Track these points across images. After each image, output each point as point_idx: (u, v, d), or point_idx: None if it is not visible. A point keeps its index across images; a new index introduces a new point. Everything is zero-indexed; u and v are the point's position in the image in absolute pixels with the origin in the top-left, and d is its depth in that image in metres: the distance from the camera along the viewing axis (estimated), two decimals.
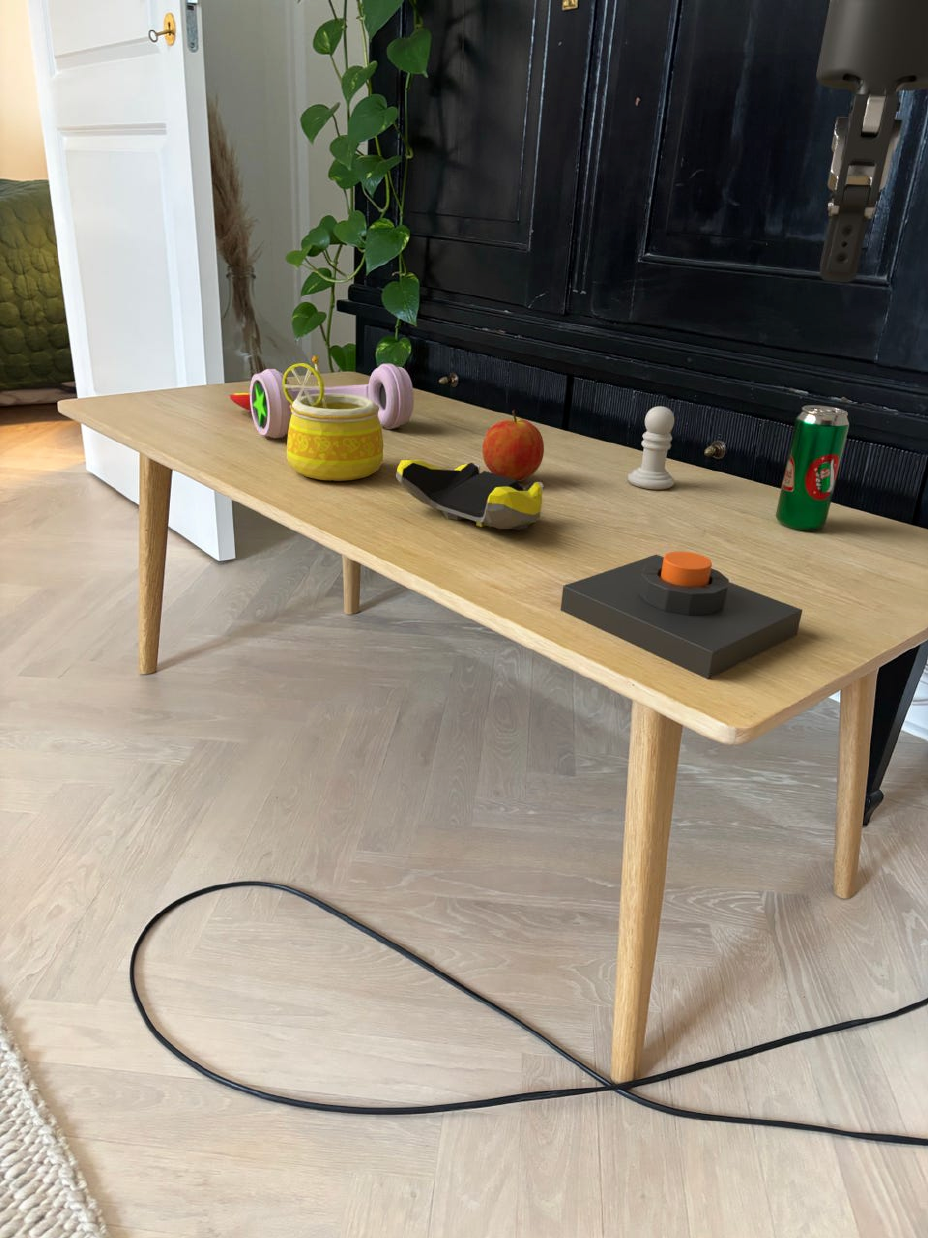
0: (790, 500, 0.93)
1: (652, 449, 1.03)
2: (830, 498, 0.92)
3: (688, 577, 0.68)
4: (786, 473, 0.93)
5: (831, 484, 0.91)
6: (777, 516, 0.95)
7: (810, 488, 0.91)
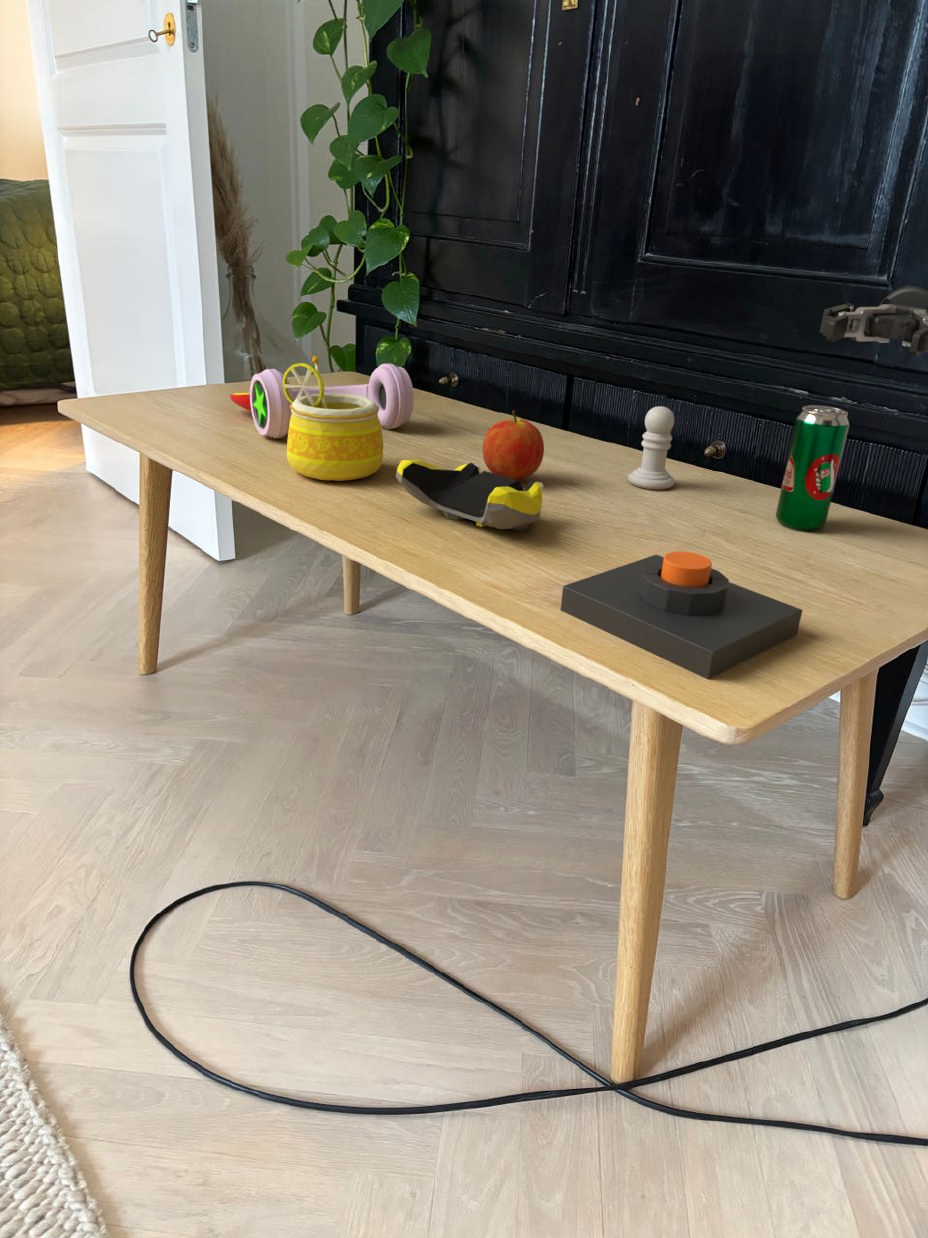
0: (791, 500, 0.93)
1: (652, 449, 1.03)
2: (830, 498, 0.92)
3: (688, 577, 0.68)
4: (786, 473, 0.93)
5: (831, 484, 0.91)
6: (777, 516, 0.95)
7: (810, 488, 0.91)
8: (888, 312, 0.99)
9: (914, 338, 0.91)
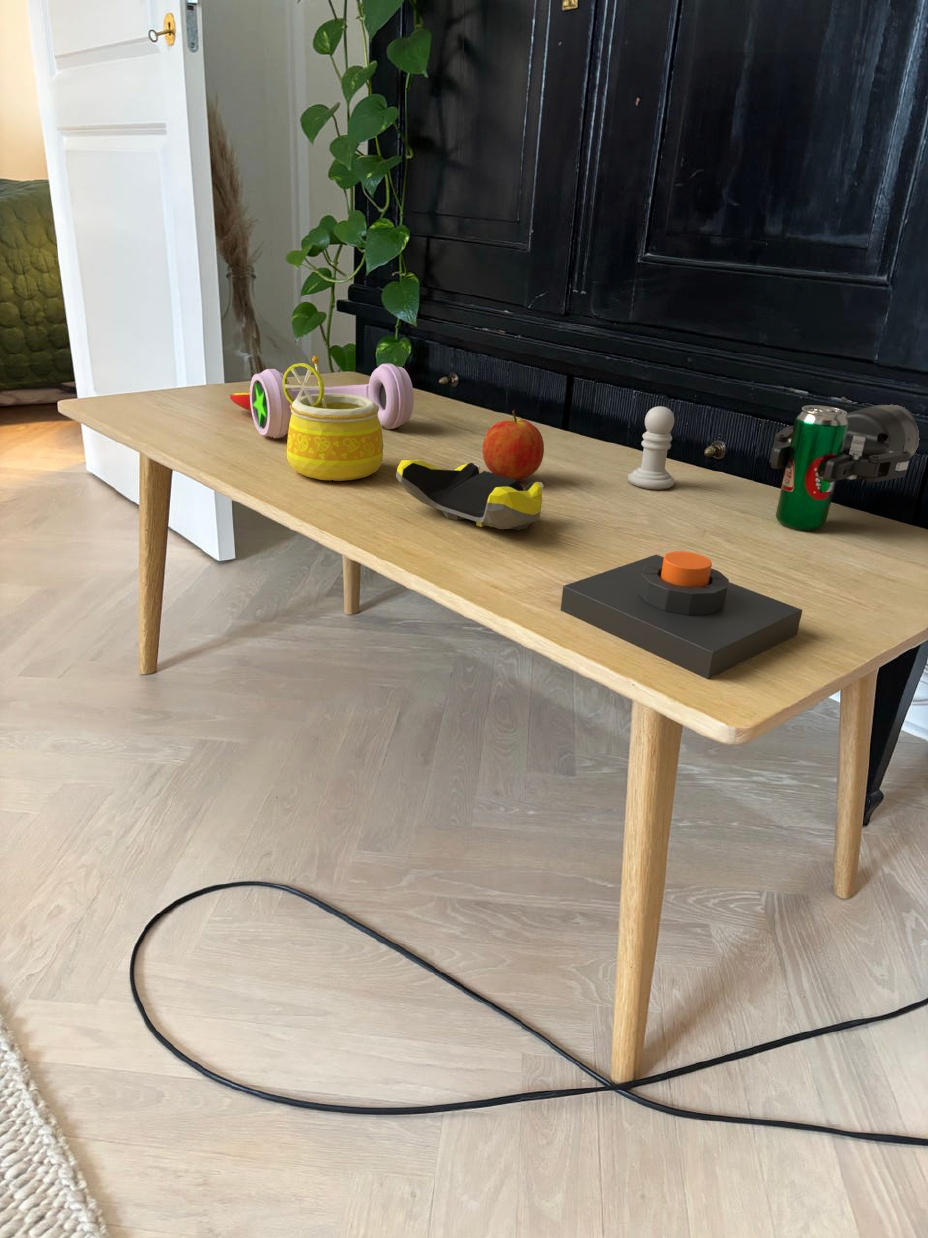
0: (790, 500, 0.93)
1: (652, 449, 1.03)
2: (830, 498, 0.92)
3: (688, 577, 0.68)
4: (786, 473, 0.93)
5: (831, 484, 0.91)
6: (777, 516, 0.95)
7: (810, 488, 0.91)
8: None
9: (828, 466, 0.89)
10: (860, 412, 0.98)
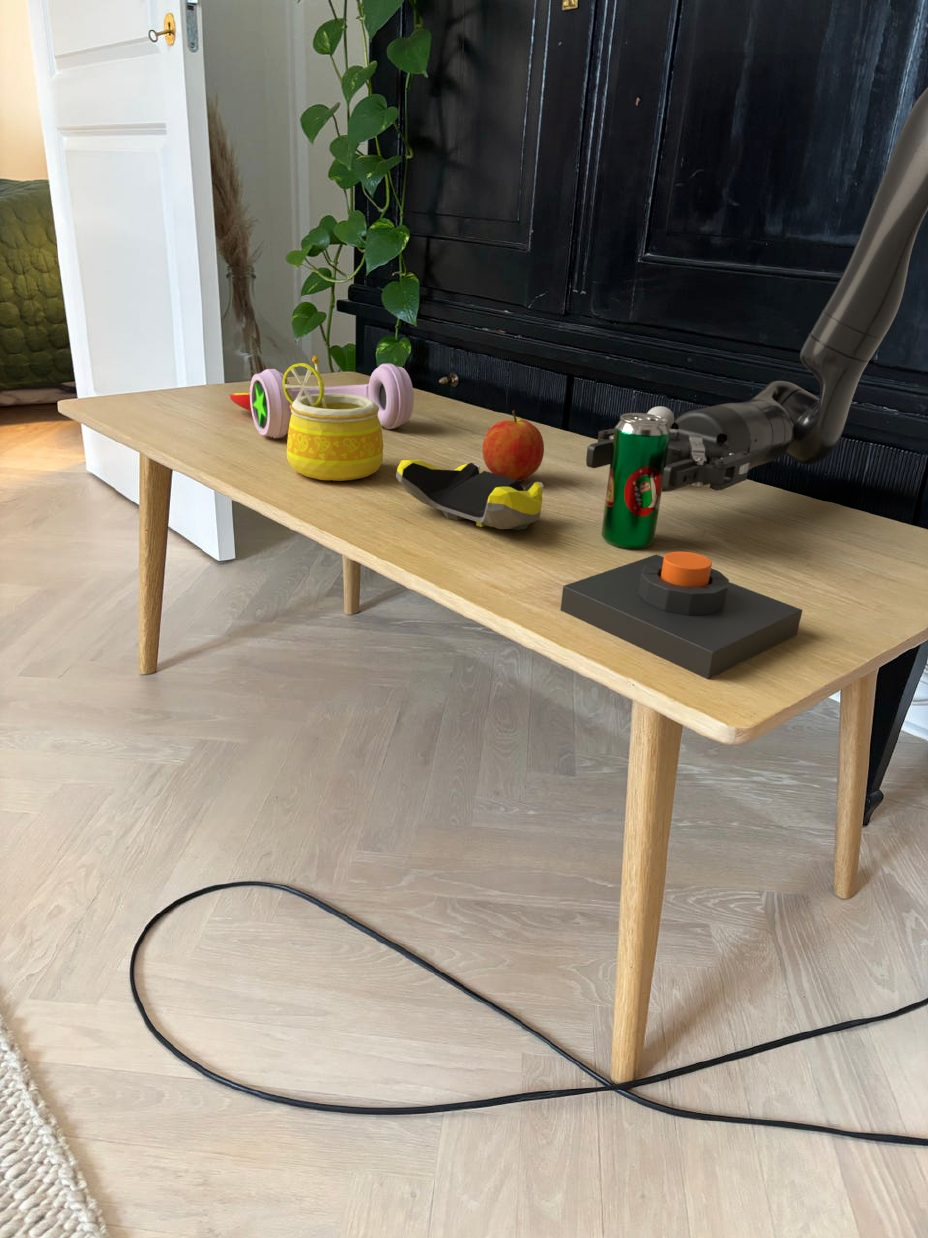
0: (612, 516, 0.85)
1: None
2: (654, 514, 0.85)
3: (688, 577, 0.68)
4: (607, 487, 0.85)
5: (654, 499, 0.84)
6: (602, 533, 0.87)
7: (630, 503, 0.83)
8: None
9: (665, 472, 0.80)
10: (699, 411, 0.90)
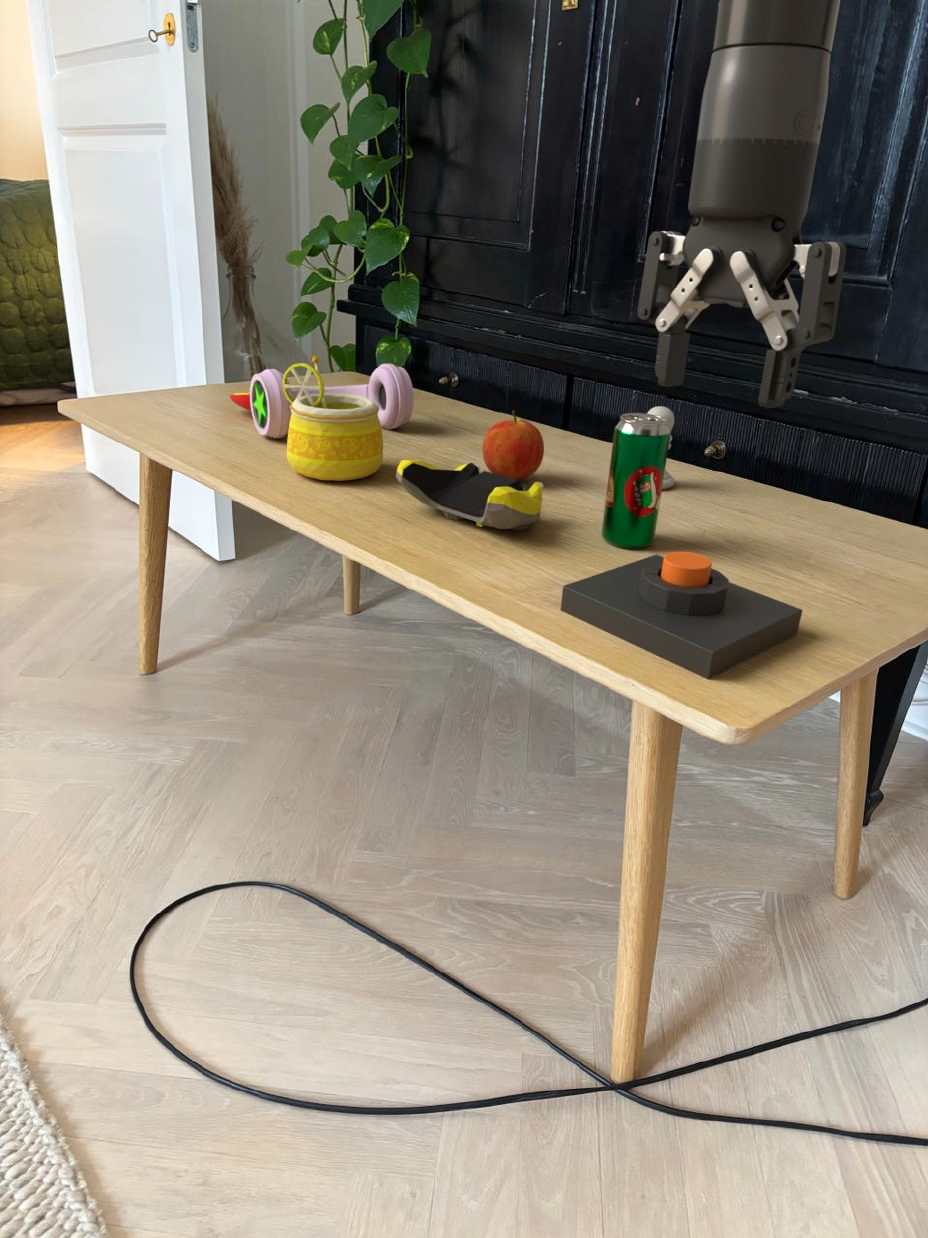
0: (612, 516, 0.85)
1: None
2: (654, 514, 0.85)
3: (688, 577, 0.68)
4: (607, 487, 0.85)
5: (654, 499, 0.84)
6: (602, 533, 0.87)
7: (630, 503, 0.83)
8: None
9: None
10: None
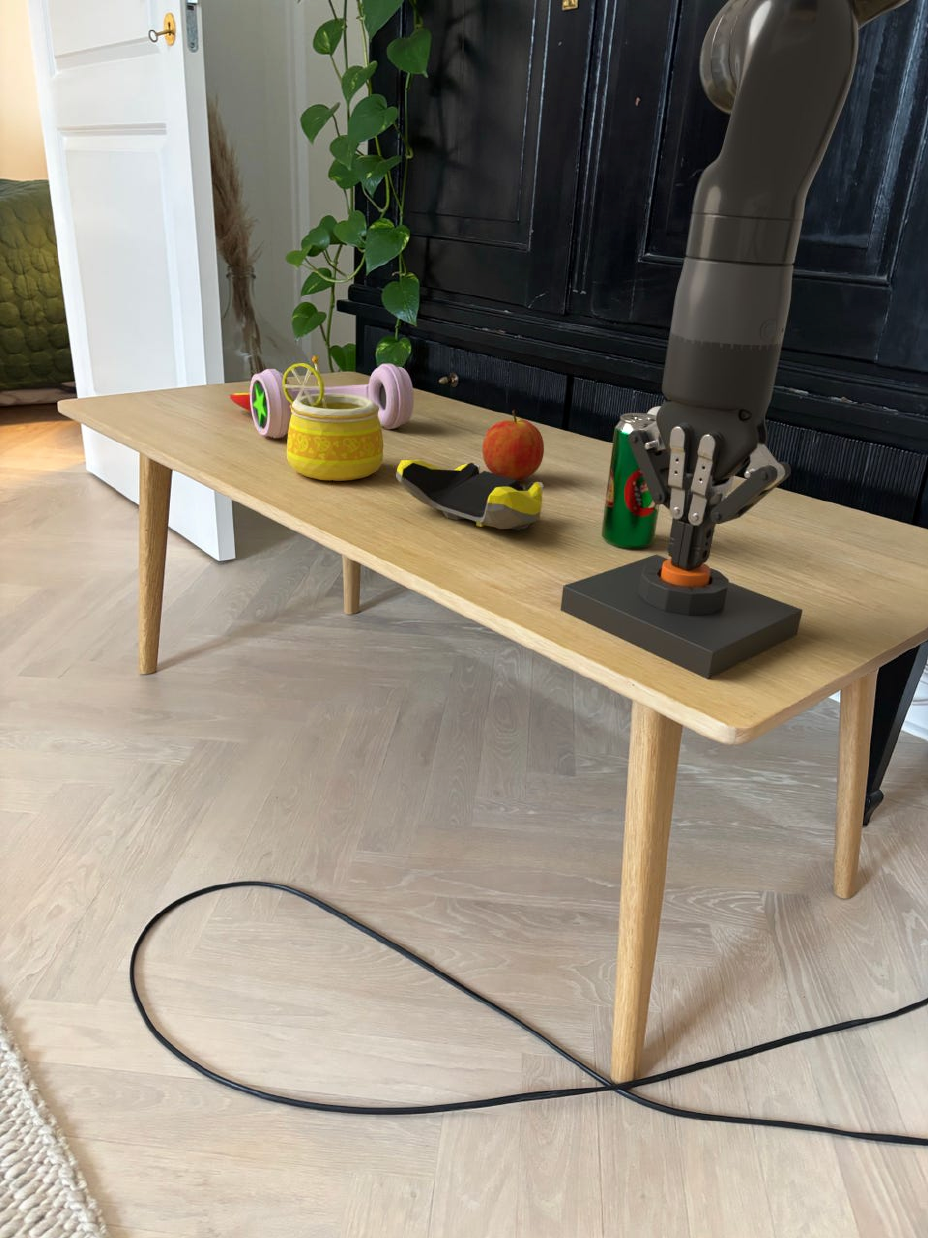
0: (612, 516, 0.85)
1: None
2: (654, 514, 0.85)
3: (687, 584, 0.68)
4: (607, 487, 0.85)
5: None
6: (602, 533, 0.87)
7: (630, 503, 0.83)
8: None
9: None
10: None
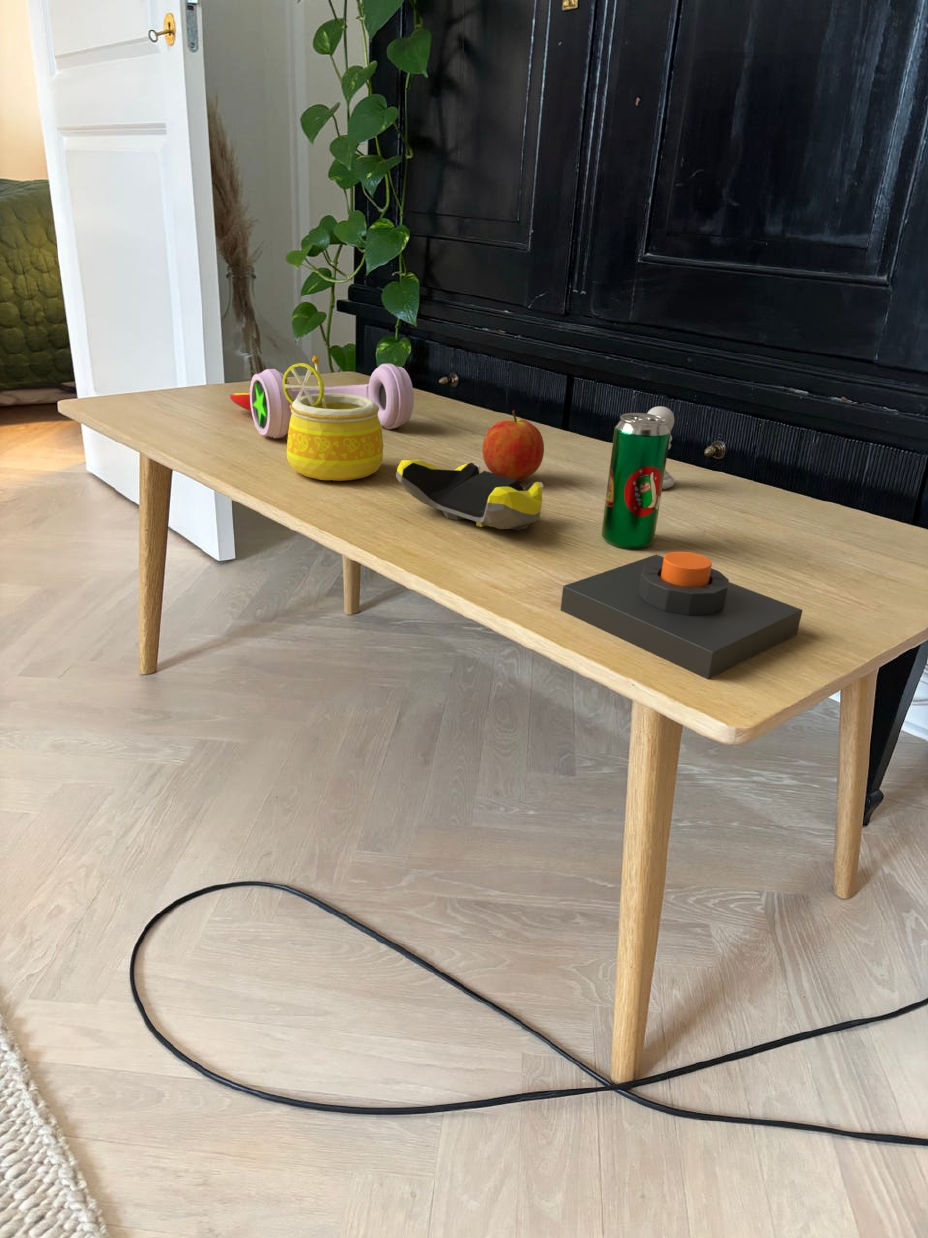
0: (612, 516, 0.85)
1: None
2: (654, 514, 0.85)
3: (688, 577, 0.68)
4: (607, 487, 0.85)
5: (654, 499, 0.84)
6: (602, 533, 0.87)
7: (630, 503, 0.83)
8: None
9: None
10: None
